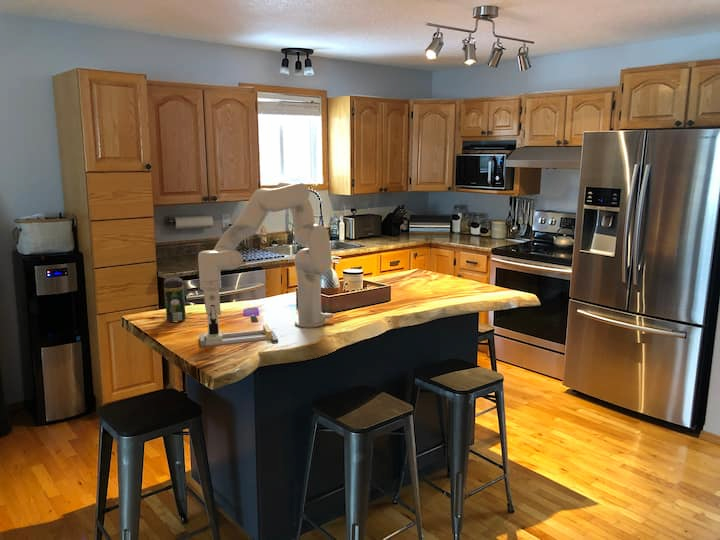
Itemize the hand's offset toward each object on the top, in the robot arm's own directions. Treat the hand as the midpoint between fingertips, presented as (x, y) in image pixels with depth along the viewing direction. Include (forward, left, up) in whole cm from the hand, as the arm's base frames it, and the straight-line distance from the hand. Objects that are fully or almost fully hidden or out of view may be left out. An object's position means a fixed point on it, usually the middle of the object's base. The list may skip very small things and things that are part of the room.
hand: (213, 331), depth 219 cm
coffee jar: (+13, -40, -5) cm, 42 cm away
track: (-9, 0, -5) cm, 10 cm away
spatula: (-19, -30, -5) cm, 35 cm away
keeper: (0, 0, -4) cm, 4 cm away
